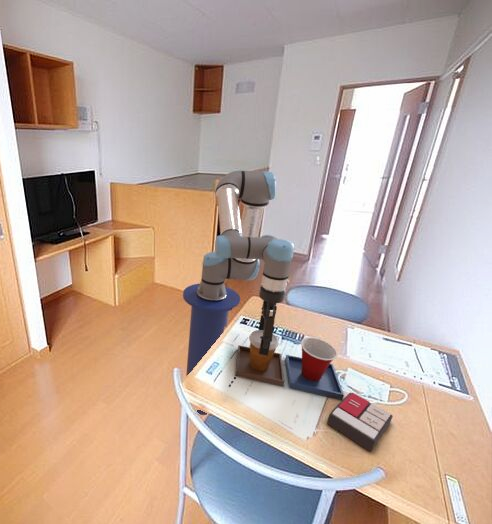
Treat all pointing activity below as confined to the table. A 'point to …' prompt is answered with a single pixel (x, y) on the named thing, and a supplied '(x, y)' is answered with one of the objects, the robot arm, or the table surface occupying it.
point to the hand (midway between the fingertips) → (262, 342)
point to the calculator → (360, 420)
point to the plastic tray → (322, 387)
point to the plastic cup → (316, 357)
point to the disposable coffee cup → (257, 359)
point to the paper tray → (269, 376)
